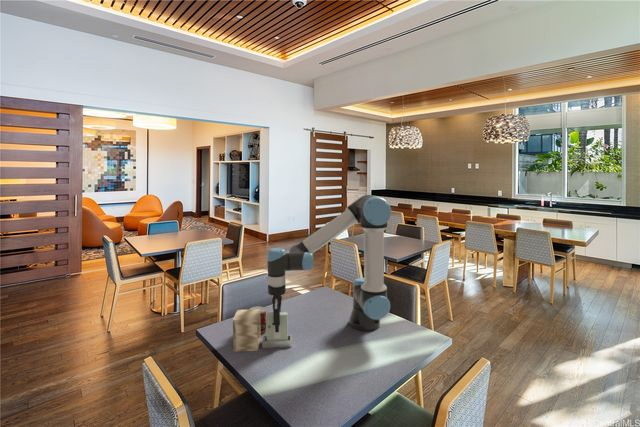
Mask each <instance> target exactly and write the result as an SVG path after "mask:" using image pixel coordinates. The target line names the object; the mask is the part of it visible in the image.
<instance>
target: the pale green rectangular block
mask: <svg viewBox="0 0 640 427" xmlns="http://www.w3.org/2000/svg"><path fill="white" fill-rule="evenodd" d="M288 318H289V317H288V311H281V312H280V339H274V325H272V323H274V319H273V311H271V312H270V311H268V312H266V336H267V341H286V340H288V335H289V333H288V332H289V331H288V330H289V325H288V324H289V323H288V321H289V319H288Z"/></svg>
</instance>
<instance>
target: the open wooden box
mask: <svg viewBox="0 0 640 427" xmlns="http://www.w3.org/2000/svg"><path fill="white" fill-rule="evenodd" d="M249 309H250V308H249ZM249 309H237V310H236V312H235V313H234V314H235V315H234V316H233V319H232V334H233V335H232V336H233V338H232V339H233V340H232V342H233V352H258V351H259V346H260V343H261V336H262V335H260V309H250V310H249Z"/></svg>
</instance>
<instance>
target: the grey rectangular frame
mask: <svg viewBox="0 0 640 427" xmlns="http://www.w3.org/2000/svg"><path fill="white" fill-rule="evenodd" d="M261 342H262V344H261V345H262V346H261V347H262V349H268V348H292V347H293V335H292V334H288V340H286V341H267V335H263V337H262V341H261Z"/></svg>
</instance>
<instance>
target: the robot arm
mask: <svg viewBox="0 0 640 427" xmlns="http://www.w3.org/2000/svg"><path fill="white" fill-rule="evenodd" d="M391 215H392V208H391V206H390V204H389V202H388V201H387V200H386V199H385V198H383V197H381V196H378V195H377V196H376V195H372V194H365V195H363V196H361V197H359V198H357V199H356V200H355V201H353V202H352V203H351V204H349V205H348V206H346V207H345V210H344V211H343V212H342V213H340V214H339V215H337V216H336V217H335V218H333V219H332V220H330V221H328V222H327V223H326V224H325V225H323V226H321V227H320V228H319V229H318V230H316V231H315V232H313V233H312V234H310V235H309V236H308V237H306V238H305V239H303V240H302V241H301V242H299V243H297V244H294V245H292V246H291V247H290V248H289V252H286V249H285V248H284V247H283V248H282V247H274V248H273V247H272V248H270V249H269V250H268V251H267V263H266V264H267V277H266V278H265V279H266V280H267V284H268V285H267V293H268V295H270V296H272V298H271V303H272V312H273V319H274V323H272V325H274V339H280V312H282V309H281V308H282V300H283V297H282V296H283V295H285V294H286V292H287V290H286V281H287V280H286V276H287V274H286V272H287V271H288V272H289V271H291V272H292V271H295V272H296V271H310V270H313V268H314V254H315V252H316V251H319V249H321V248H323V247H324V246H325V245H326V244H328V243H330V242H331V241H332V240H334V239H336V237H338V236H340V235H341V234H342V233H344V232H345V231H347V230H348V229H350V228H351V227H352V226H353V225H359V224H360V228H361V230H363V268H364V269H363V276H364V277H359V278H355V279H354V280H353V285H352V288H353V291H352V293H353V294H352V297H353V299H352V301H353V302H352V310H351V313H350V316H349V322H348V323H349V326H350V327H351V328H354V329H355V330H359V331H367V332H369V331H370V332H371V331H375V330H377V329H378V328H379V327H380V326H381V324H380V323H381V319H383V318H385V317H386V316H387V315H388V314H389V313H390V310H391V302H390V299H388V287H387V285H386V284H385V282H384V281H385V279H384V275H385V274H384V273H385V269H384V264H385V260H384V258H385V251H384V249H385V246H384V245H385V241H384V240H385V237H384V236H385V235H384V234H385V231H386V230H387V228H388V221H389V220H390V218H391Z"/></svg>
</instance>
